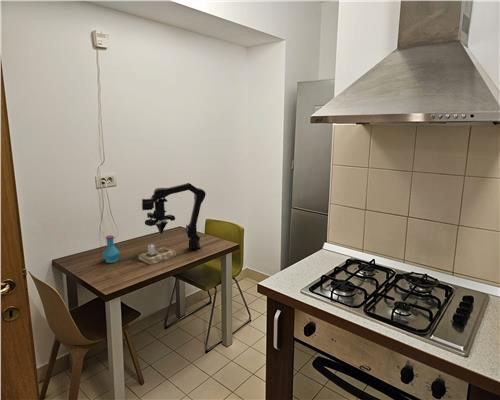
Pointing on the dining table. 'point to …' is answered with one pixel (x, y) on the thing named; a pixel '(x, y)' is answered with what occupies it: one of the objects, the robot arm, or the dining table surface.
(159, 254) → the frame
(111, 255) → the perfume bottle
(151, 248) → the grey cylinder
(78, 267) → the dining table surface
